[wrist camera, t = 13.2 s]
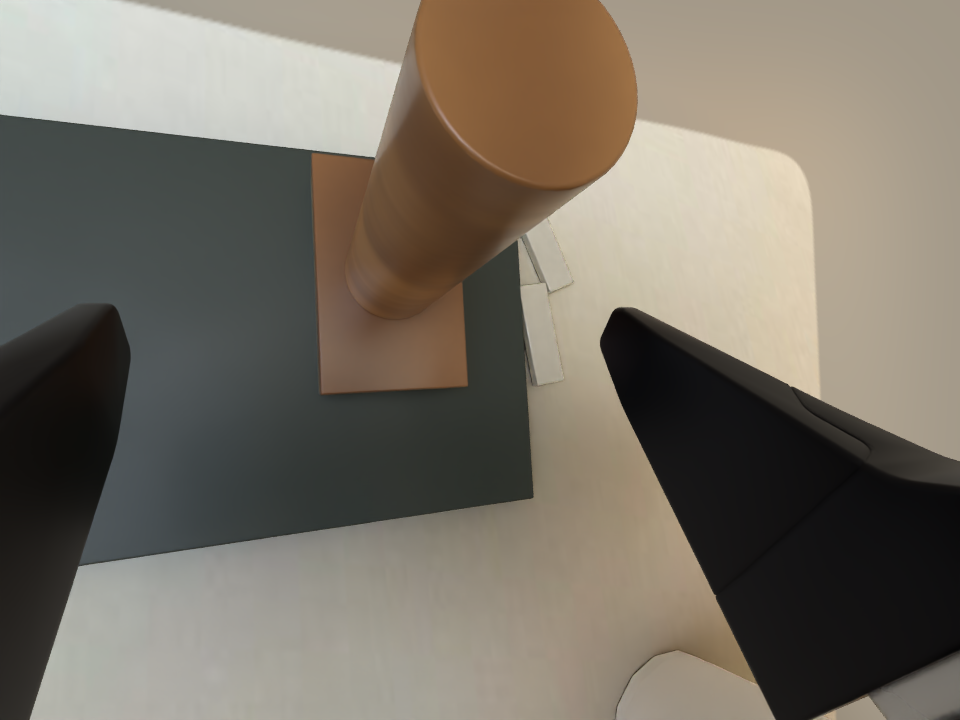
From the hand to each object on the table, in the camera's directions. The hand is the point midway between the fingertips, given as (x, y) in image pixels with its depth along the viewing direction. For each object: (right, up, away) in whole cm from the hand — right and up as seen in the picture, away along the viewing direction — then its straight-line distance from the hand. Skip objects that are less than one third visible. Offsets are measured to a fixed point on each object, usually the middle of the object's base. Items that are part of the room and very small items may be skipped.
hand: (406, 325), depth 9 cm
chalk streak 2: (+4, +1, +13) cm, 13 cm away
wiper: (-2, +2, +9) cm, 10 cm away
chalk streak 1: (+4, +5, +13) cm, 15 cm away
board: (-7, 0, +8) cm, 11 cm away
